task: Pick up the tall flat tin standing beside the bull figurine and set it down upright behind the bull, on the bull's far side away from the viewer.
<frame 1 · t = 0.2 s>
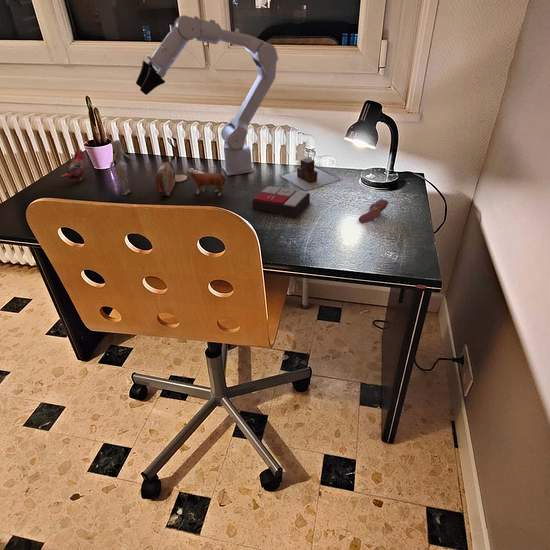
hand: (140, 89, 129), 31 cm above the table, tool tilted 45°, fingers open, 7 cm apart
red and grey box: (281, 206, 132), on the table
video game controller: (373, 218, 125), on the table
cork coaster: (178, 178, 150), on the table
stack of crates: (309, 178, 149), on the table
human figurine: (127, 194, 141), on the table
bull figurine: (206, 193, 141), on the table
tin: (167, 190, 143), on the table
decorative bird figurine: (78, 184, 148), on the table
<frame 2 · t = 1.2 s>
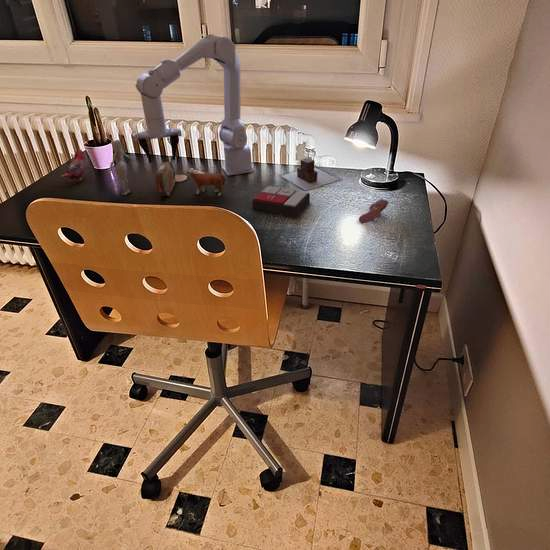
hand: (162, 160, 136), 10 cm above the table, tool pointing down, fingers open, 7 cm apart
nothing on the table moved.
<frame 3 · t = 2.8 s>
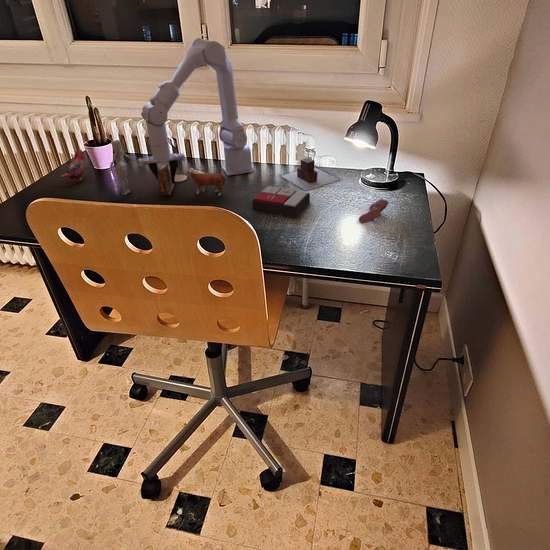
hand: (166, 183, 141), 2 cm above the table, tool pointing down, fingers closed on tin, 4 cm apart
tin: (168, 190, 143), on the table, touching gripper
everything else where it was.
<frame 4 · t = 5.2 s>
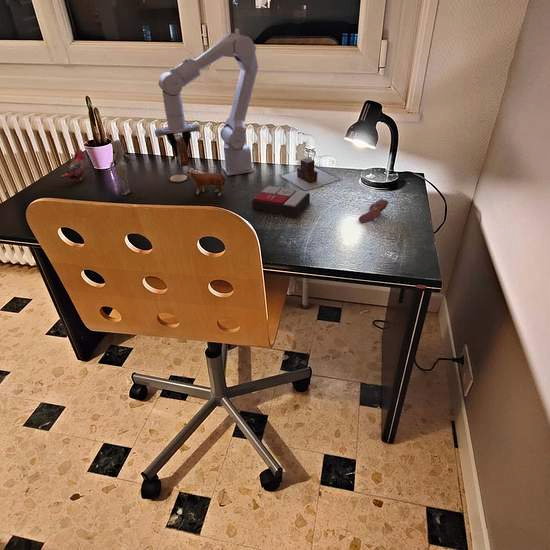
hand: (181, 154, 144), 9 cm above the table, tool pointing down, fingers closed on tin, 2 cm apart
tin: (181, 162, 145), point 7 cm above the table, touching gripper
everything else where it was.
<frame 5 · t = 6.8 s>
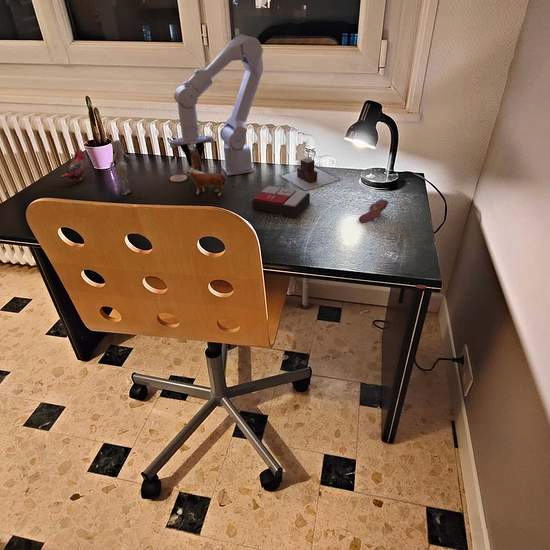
hand: (194, 164, 147), 5 cm above the table, tool pointing down, fingers closed on tin, 2 cm apart
tin: (194, 172, 149), point 2 cm above the table, touching gripper
everything else where it was.
when the fingers open (3 cm above the table, at t = 7.8 s): tin stays where it is, on the table.
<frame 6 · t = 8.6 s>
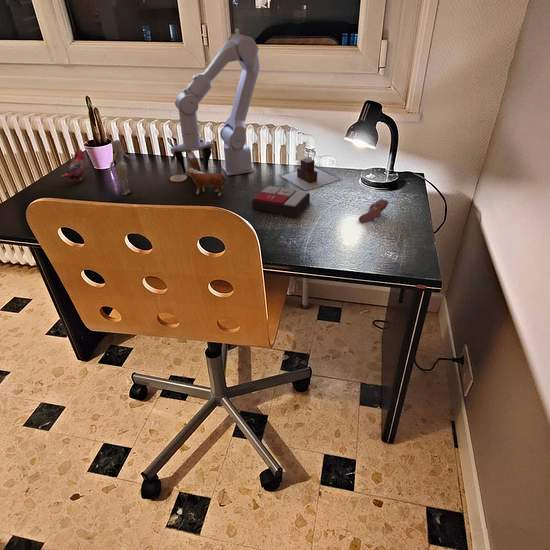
hand: (195, 170, 148), 3 cm above the table, tool pointing down, fingers open, 7 cm apart
tin: (195, 179, 150), on the table
everything else where it was.
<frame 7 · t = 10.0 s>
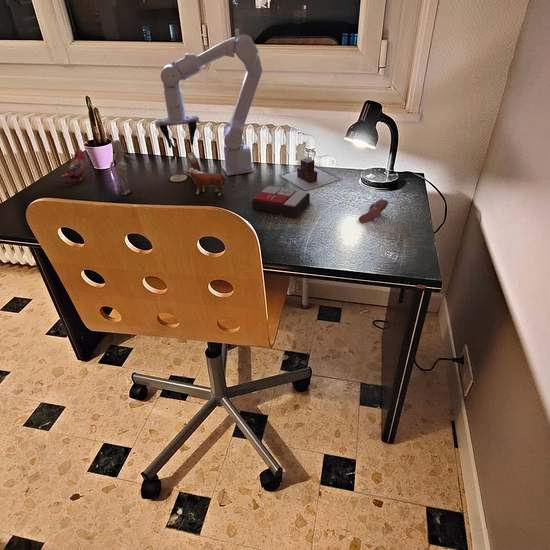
hand: (181, 145, 148), 10 cm above the table, tool pointing down, fingers open, 7 cm apart
nothing on the table moved.
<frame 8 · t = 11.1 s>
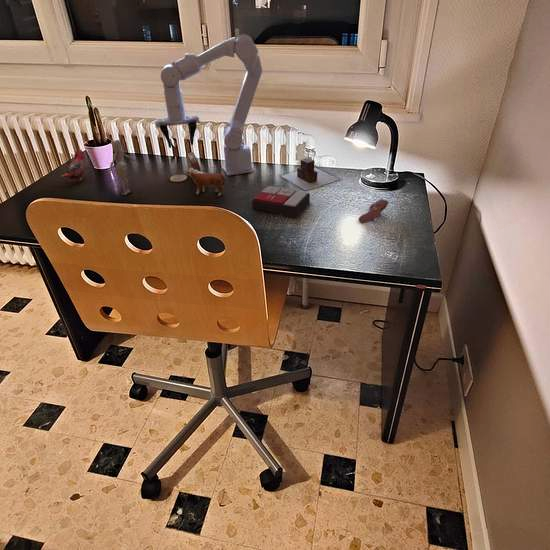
hand: (181, 145, 148), 10 cm above the table, tool pointing down, fingers open, 7 cm apart
nothing on the table moved.
at the end: tin inside the target area on the table beside the bull figurine (0.8 cm from its centre), on the table; tin tilted 0°; bull figurine moved 0.2 cm from its start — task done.
